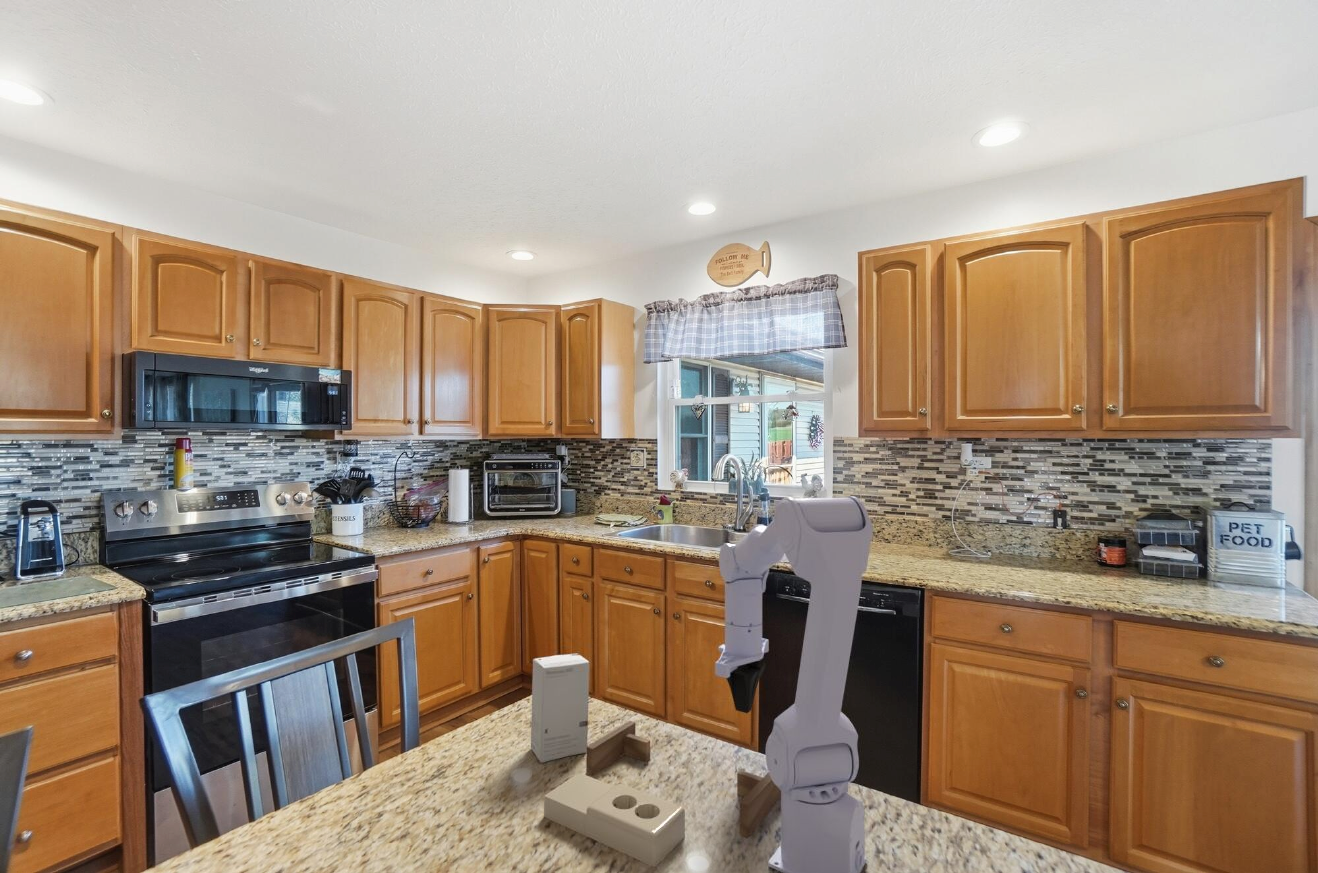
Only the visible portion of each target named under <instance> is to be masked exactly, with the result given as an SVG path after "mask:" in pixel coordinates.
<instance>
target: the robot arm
mask: <svg viewBox="0 0 1318 873" xmlns="http://www.w3.org/2000/svg"><path fill="white" fill-rule="evenodd" d="M773 516H774V517H773V520H772V521H771V522H770V523H769V524H768V525H765V524H754V525H753V526H752V527H751V531H749V532H748V533H747V534H746V535H744V536H742V537H741V539H740V540H739V541H737V543H733V544H732V543H728V542H724V543H723V544H722V546H721V548H720V550H719V554H718V565H719V566H718V567H719V572H720V576H721V578H722V580H723V581H724V644H721V645H719V646H718V652H720V653H721V654H720V657H719V659H718V660H717V661H715V663H714V664H715V665H714V667H715V668H714V675H715V676H716V677H721V678H724V679H726V681H727V683H728V686H729V688H730V692H731V695H732V701H733V704H734V709H735V711H736V712H741V713H744V714H748V713H750V712H751V711H752V708H753V704H754V700H755V696H756V692H757V689H758V688H757V687H758V684H759V681H760V680H761V678H762V674H763V672H765V669H766V662H764V661H762V659H764V655H765V653H768V652H769V644H770V642H769V639H767V638H763V593H765V592H766V588H767V586H766V585H767V584H766V583H767V578H768V576H769V573H770V569H771V568H772V567H773V566H774V565H776V564H778V563H779V562H780V561H781V560H782V559H783V558H784V556H785V557H786V560H787V561H788V563H789V565H790V567H791V568H792V570H793V573H794V574H795V576H797V577H798V578H801V579H803V580H805V581H807V582H809V584H810V596H809V601H808V610H807V615H806V621H805V627H804V628H805V630H804V636H803V643H802V644H803V645H802V649H801V657H800V666H799V671H798V678H797V686H796V692H795V699H794V703H793V704H792V705H791V706H789V707H788V708H787V709H785V710H784V711H783V712H782V713H780V714H779V715H778V716H777V717H776V718H775V719H774V720H773V727H772V731H771V733H770V735H769V736H768V737H767V741H766V744H765V762H766V766H767V772H769V774H770V777H771V779H772V781H773V782H774V784H775V785H776V786H777V787H778V788H779V789H780V790H781V799H780V844H779V846H778V848H777V849H776V850H775V851H774V853H773V855H772V856H770V858H769V860H768V862H767V863H768V864H767V865H768V866H769V867H770V868H772V869H774V870H777V871H779V872H781V873H861V872H862V871H863V869H864V866H865V865H866V863H867V856H866V855H865V851H866V848H865V847H866V846H865V844H866V843H865V841H866V840H865V839H866V838H865V834H866V833H865V832H866V830H865V829H866V828H865V821H866V819H865V816H866V815H865V807H864V803H863V801H862V800H860V799H858V798H856V797H854V796H852V795H851V794H849V793H848V792H849V783H851V782H853V781H854V780H855V779H856V778H857V774H858V771H859V765H860V763H859V762H860V760H859V751H858V741H859V740H858V739H859V735H858V733H857V730H856V728H855V727H854V724H853V723H852V722H851V721H850V718H849V717H847V716H846V714H844V713H843V712H842V707H843V701H844V693H845V690H846V689H845V687H846V681H847V675H848V670H849V662H850V658H851V657H850V656H851V652H852V647H853V646H852V645H853V640H854V634H855V627H856V626H855V625H856V621H857V615H858V608H859V603H860V599H861V598H860V596H861V591H862V580H863V579H862V578H863V575H864V573H866V572H867V568H868V560H869V555H870V550H871V545H872V540H873V539H872V537H873V532H874V526H873V523H872V521H871V518H870V515H869V512H868V510H867V508H866V506H865V505H864V503H863V502H862V501H861V499H860V498H858V497H856V496H854V495H850V496H849V495H848V496H845V497H810V498H809V497H808V498H807V497H805V498H804V497H803V498H800V497H799V498H798V497H797V498H795V497H794V498H793V497H792V496H790V497H783V498H782V499H781V500H779V503H777V504H775V508H774V513H773Z"/></svg>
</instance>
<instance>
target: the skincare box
mask: <svg viewBox="0 0 1318 873" xmlns="http://www.w3.org/2000/svg"><path fill="white" fill-rule="evenodd" d="M531 681H532V684H531V687H532V688H531V718H530V719H531V722H530V723H531V724H530V725H531V726H530V727H531V728H530V749H531V750H532V752H533V753H534V754H535V756H536V759H537V760H538V761H539V763H541V764H542V763H547V762H550V761H553V760H557V759H561V758H565V757H569V756H574V755H581V754H585V753H586V754H587V746H588V735H589V734H588V733H589V732H588V729H589V727H588V726H589V695H590V694H589V692H590V691H589V690H590V661H589V660H587V659H586V658H585V657H584V656H582V655H581V654H579V653H570V654H569V653H568V654H557V655H556V654H555V655H551V656H544V657H537V658H533V659H532V680H531Z"/></svg>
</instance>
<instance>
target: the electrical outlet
mask: <svg viewBox="0 0 1318 873" xmlns="http://www.w3.org/2000/svg"><path fill="white" fill-rule="evenodd" d="M543 817H544V818H546V819H548V820H551V821H553V822H555V823H557V824H559V825H562V826H564V827H565V828H568V829H570V830H572V831H575V832H577V833H579V834H581V835H583V836H586V837H588V838H589V839H592V840H595V841H596V842H598V843H600V844H602V845H605V846H607V847H609V848H612V849H614V850H616V851H618V852H620V853H622V854H625V855H627V856H629V857H631V858H633V859H635V860H638V861H640V862H641V863H645V864H646V865H649V866H651V867H656V866H658V865H659V864H660V863H661V862H662V861H663V860H664V858H666V857H667V855H669V853H670V852H671V851H673V849H674V848H675V847H676V846H677V845H679V843H680V842H681V841H683V839H684V838H685V837H686V810H685V808H684V807H683V806H681V805H678V804H677V803H676V804H675V803H674V802H670V801H668V800H665V799H663V798H660V797H657V796H654V795H653V794H650V793H648V792H644V791H642V790H639V789H636V788H633V787H631V786H628V785H626V784H623V783H618V784H616V785H615V786H614V785H612V784H609V783H607V782H604V781H602V780H599V779H597V778H594V777H592V776H589V775H588V774H587V775H586V774H583V773H581V772H578V773H576V774H575V775H573V776H572V777H569V779H568V780H566V781H565V782H563V783H561V784H560V785H558V786H557V787H555V788H554V789H552V790H551V791H549V792H548V793H546V794H545V795H544V797H543Z"/></svg>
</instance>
